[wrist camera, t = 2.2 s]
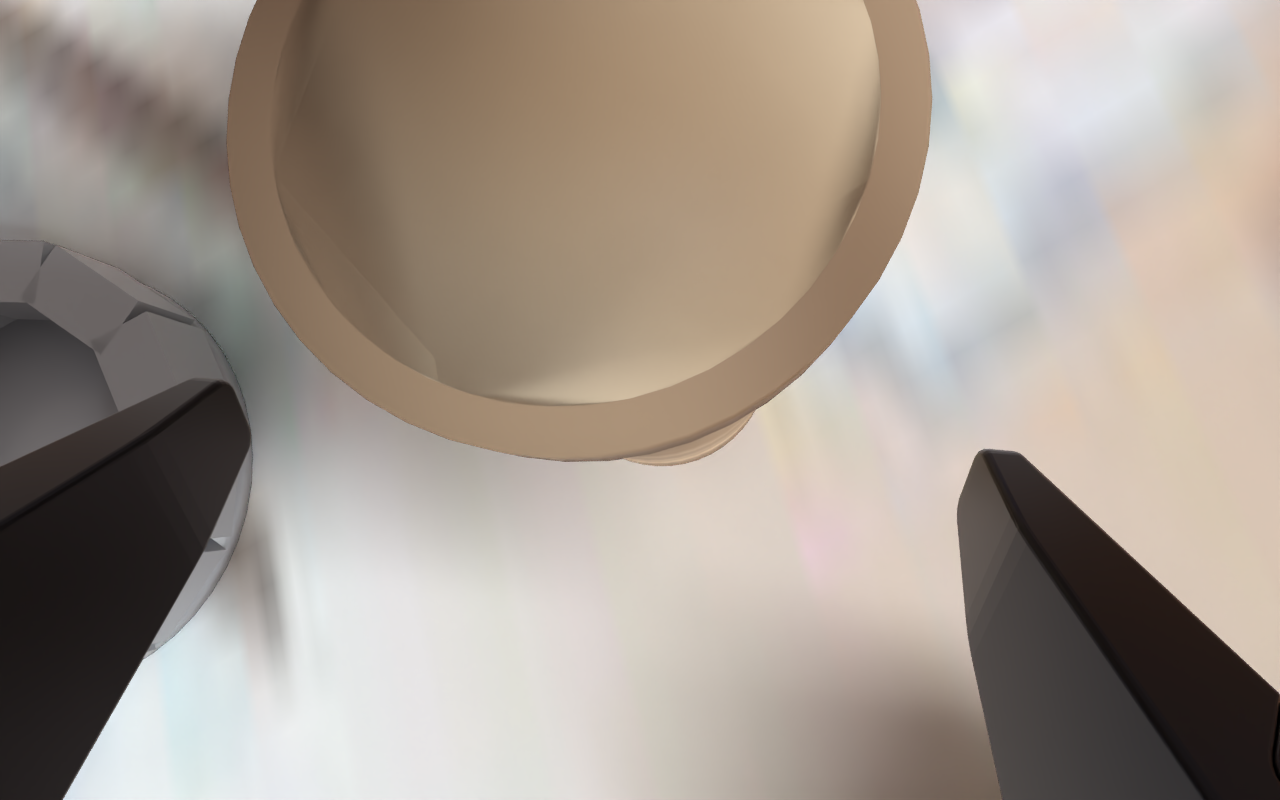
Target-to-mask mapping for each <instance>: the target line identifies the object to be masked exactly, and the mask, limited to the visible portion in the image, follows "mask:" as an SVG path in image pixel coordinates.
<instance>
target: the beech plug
mask: <svg viewBox="0 0 1280 800" xmlns="http://www.w3.org/2000/svg"><path fill="white" fill-rule="evenodd" d="M931 108H932V91H931V76H930V61H929V52H928V47H927V42H926V38H925V33H924V28H923V24H922V19H921V14H920V10H919V7H918V4H917V2H916V0H257V1H256V3H255V5H254V8H253V10H252V12H251V14H250V16H249V19H248V22H247V25H246V29H245V32H244V35H243V38H242V41H241V45H240V48H239V51H238V54H237V57H236V62H235V68H234V73H233V79H232V84H231V90H230V95H229V103H228V123H227V155H228V167H229V179H230V187H231V192H232V196H233V201H234V206H235V210H236V215H237V219H238V224H239V228H240V230H241V233H242V236H243V239H244V241H245V244H246V247H247V249H248V252H249V255H250V258H251V260H252V263H253V266H254V268H255V270H256V272H257V274H258V275H259V277H260V279H261V281H262V283H263V285H264V287H265V288H266V290H267V292H268V294H269V296H270V298H271V300H272V302H273V303H274V305H275V307H276V308H277V309H278V311H279V312H280V313H281V315H282V316H283V318H284V319H285V320H286V322H287V323H288V324H289V326H290V327H291V328H292V330H293V331H294V333H295V334H296V335H297V337H298V338H299V339H300V341H301V342H302V343H303V344H304V345H305V346H306V347H307V348H308V349H309V350H310V351H311V352H312V353H313V354H314V355H315V356H316V357H317V358H318V359H319V360H320V361H321V362H322V363H323V364H324V365H325V366H326V367H327V368H328V369H329V371H330V372H332V373H333V374H334V375H335V376H337V377H338V378H339V379H341V380H342V381H343V382H344V383H346V384H347V385H348V386H350V387H351V388H352V389H354V390H355V391H356V392H357V393H359V394H360V395H361V396H363V397H364V398H365V399H366V400H368V401H370V402H372V403H373V404H375V405H377V406H379V407H380V408H382V409H384V410H386V411H387V412H389V413H391V414H393V415H394V416H396V417H398V418H400V419H401V420H403V421H405V422H407V423H409V424H412V425H414V426H417V427H419V428H422V429H424V430H427V431H429V432H432V433H434V434H437V435H439V436H442V437H444V438H447V439H449V440H453V441H457V442H461V443H465V444H469V445H473V446H477V447H481V448H485V449H489V450H493V451H497V452H502V453H507V454H512V455H517V456H522V457H528V458H537V459H546V460H555V461H564V462H576V461H610V460H616V459H626V460H628V461H631V462H635V463H639V464H643V465H652V466H673V465H679V464H685V463H689V462H692V461H696V460H699V459H701V458H703V457H706V456H708V455H710V454H712V453H714V452H715V451H717V450H719V449H720V448H722V447H723V446H725V445H726V444H727V443H728V442H729V441H731V440H732V439H733V438H734V437H735V436H736V435H737V434H738V433H739V432H740V431H741V430H742V429H743V428H744V426H745V425H746V424H747V422H748V421H749V419H750V418H751V417H752V415H753V413H754V411H755V410H756V409H758V408H759V407H761V406H763V405H764V404H766V403H767V402H769V401H770V400H771V399H772V398H774V397H775V396H776V395H777V394H779V393H780V392H781V391H782V390H784V389H785V388H786V387H787V386H789V385H790V384H791V383H792V382H794V381H795V380H796V379H797V378H799V377H800V376H801V375H802V374H803V373H804V372H805V371H806V370H807V369H808V368H809V367H810V366H811V365H812V363H813V362H814V361H815V360H816V359H817V358H818V357H819V356H820V355H821V354H822V353H823V352H824V351H825V350H826V349H827V348H828V347H829V346H830V345H831V343H832V342H833V341H834V340H835V338H836V337H837V336H838V334H839V333H840V332H841V331H842V329H843V328H844V327H845V326H846V324H847V323H848V322H849V321H850V319H851V318H852V316H853V315H854V314H855V312H856V311H857V310H858V308H859V307H860V305H861V304H862V303H863V301H864V300H865V299H866V297H867V296H868V294H869V293H870V292H871V290H872V289H873V288H874V286H875V285H876V283H877V282H878V281H879V279H880V277H881V275H882V273H883V271H884V270H885V268H886V266H887V264H888V262H889V260H890V258H891V257H892V255H893V253H894V251H895V249H896V247H897V245H898V244H899V242H900V240H901V238H902V235H903V233H904V230H905V227H906V225H907V222H908V219H909V217H910V214H911V211H912V209H913V206H914V203H915V200H916V198H917V195H918V192H919V188H920V183H921V179H922V174H923V170H924V165H925V160H926V156H927V151H928V147H929V134H930V121H931Z"/></svg>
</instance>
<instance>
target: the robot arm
mask: <svg viewBox="0 0 1280 800" xmlns="http://www.w3.org/2000/svg"><path fill="white" fill-rule="evenodd" d="M250 444H251V430H250V427H249V424H248V422H247V419H246V417H245V414H244V412H243V409H242V407H241V405H240V402H239V400H238V397H237V395H236V392H235V390H234V388H233V386H232V385H231V384H230V383H228V382H227V381H225V380H222V379H211V378H191V379H188V380H186V381H184V382H182V383H180V384H177V385H175V386H173V387H171V388H169V389H167V390H164V391H162V392H160V393H158V394H156V395H154V396H151V397H149V398H147V399H145V400H143V401H141V402H139V403H136V404H134V405H132V406H130V407H128V408H126V409H123V410H121V411H119V412H117V413H115V414H113V415H110V416H108V417H106V418H104V419H102V420H100V421H97V422H95V423H93V424H91V425H89V426H87V427H84V428H82V429H80V430H78V431H76V432H74V433H72V434H69V435H67V436H65V437H63V438H61V439H59V440H56V441H54V442H52V443H50V444H48V445H46V446H43V447H41V448H39V449H37V450H35V451H33V452H30V453H28V454H26V455H24V456H22V457H20V458H17V459H15V460H13V461H11V462H9V463H7V464H5V465H2V466H0V800H63V798H64V797H65V795H66V793H67V791H68V790H69V788H70V786H71V784H72V783H73V781H74V779H75V777H76V776H77V774H78V772H79V770H80V769H81V767H82V765H83V763H84V762H85V760H86V758H87V756H88V755H89V753H90V751H91V749H92V748H93V746H94V744H95V742H96V741H97V739H98V737H99V735H100V734H101V732H102V730H103V728H104V727H105V725H106V723H107V721H108V720H109V718H110V716H111V714H112V713H113V711H114V709H115V707H116V706H117V704H118V702H119V700H120V699H121V697H122V695H123V693H124V692H125V690H126V688H127V686H128V685H129V683H130V681H131V679H132V678H133V676H134V674H135V672H136V671H137V669H138V667H139V665H140V664H141V662H142V660H143V658H144V657H145V655H146V653H147V651H148V650H149V648H150V646H151V644H152V643H153V641H154V639H155V637H156V636H157V634H158V632H159V630H160V629H161V627H162V625H163V623H164V622H165V620H166V618H167V616H168V615H169V613H170V611H171V609H172V608H173V606H174V604H175V602H176V601H177V599H178V597H179V595H180V594H181V592H182V590H183V588H184V587H185V585H186V583H187V581H188V580H189V578H190V576H191V574H192V573H193V571H194V569H195V567H196V565H197V563H198V562H199V560H200V558H201V556H202V554H203V552H204V550H205V548H206V546H207V544H208V542H209V540H210V538H211V536H212V533H213V531H214V529H215V527H216V524H217V522H218V520H219V517H220V515H221V513H222V511H223V508H224V506H225V504H226V501H227V499H228V497H229V494H230V492H231V490H232V488H233V485H234V483H235V481H236V478H237V476H238V474H239V472H240V469H241V467H242V465H243V462H244V460H245V458H246V456H247V453H248V451H249V448H250ZM957 525H958V536H959V547H960V558H961V570H962V581H963V592H964V603H965V615H966V624H967V633H968V640H969V646H970V651H971V657H972V661H973V666H974V671H975V675H976V680H977V685H978V689H979V694H980V698H981V703H982V708H983V712H984V717H985V722H986V726H987V731H988V735H989V740H990V745H991V749H992V754H993V758H994V763H995V768H996V772H997V777H998V782H999V786H1000V791H1001V795H1002V800H1280V694H1279V693H1278V692H1277V691H1276V690H1275V689H1274V688H1273V687H1272V686H1271V685H1270V684H1269V683H1268V682H1266V681H1265V680H1264V679H1263V678H1262V677H1261V676H1260V675H1259V674H1258V673H1257V672H1256V671H1255V670H1253V669H1252V668H1251V667H1250V666H1249V665H1248V664H1247V663H1246V662H1245V661H1244V660H1243V659H1242V658H1241V657H1239V656H1238V655H1237V654H1236V653H1235V652H1234V651H1233V650H1232V649H1231V648H1230V647H1229V646H1228V645H1227V644H1225V643H1224V642H1223V641H1222V640H1221V639H1220V638H1219V637H1218V636H1217V635H1216V634H1215V633H1214V632H1213V631H1211V630H1210V629H1209V628H1208V627H1207V626H1206V625H1205V624H1204V623H1203V622H1202V621H1201V620H1200V619H1199V618H1197V617H1196V616H1195V615H1194V614H1193V613H1192V612H1191V611H1190V610H1189V609H1188V608H1187V607H1186V606H1185V605H1183V604H1182V603H1181V602H1180V601H1179V600H1178V599H1177V598H1176V597H1175V596H1174V595H1173V594H1172V593H1170V592H1169V591H1168V590H1167V589H1166V588H1165V587H1164V586H1163V585H1162V584H1161V583H1160V582H1159V581H1158V580H1156V579H1155V578H1154V577H1153V576H1152V575H1151V574H1150V573H1149V572H1148V571H1147V570H1146V569H1145V568H1144V567H1142V566H1141V565H1140V564H1139V563H1138V562H1137V561H1136V560H1135V559H1134V558H1133V557H1132V556H1131V555H1130V554H1128V553H1127V552H1126V551H1125V550H1124V549H1123V548H1122V547H1121V546H1120V545H1119V544H1118V543H1117V542H1116V541H1114V540H1113V539H1112V538H1111V537H1110V536H1109V535H1108V534H1107V533H1106V532H1105V531H1104V530H1103V529H1102V528H1100V527H1099V526H1098V525H1097V524H1096V523H1095V522H1094V521H1093V520H1092V519H1091V518H1090V517H1089V516H1087V515H1086V514H1085V513H1084V512H1083V511H1082V510H1081V509H1080V508H1079V507H1078V506H1077V505H1076V504H1075V503H1073V502H1072V501H1071V500H1070V499H1069V498H1068V497H1067V496H1066V495H1065V494H1064V493H1063V492H1062V491H1061V490H1059V489H1058V488H1057V487H1056V486H1055V485H1054V484H1053V483H1052V482H1051V481H1050V480H1049V479H1048V478H1047V477H1045V476H1044V475H1043V474H1042V473H1041V472H1040V471H1039V470H1038V469H1037V468H1036V467H1035V466H1034V465H1033V464H1031V463H1030V462H1029V461H1028V460H1027V459H1026V458H1025V457H1024V456H1023V455H1021V454H1020V453H1018V452H1014V451H1005V450H994V449H983V450H981V451H979V452H978V454H977V455H976V456H975V458H974V461H973V463H972V466H971V469H970V471H969V474H968V477H967V479H966V482H965V485H964V487H963V490H962V493H961V495H960V498H959V502H958V508H957Z"/></svg>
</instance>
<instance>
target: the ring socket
mask: <svg viewBox="0 0 1280 800" xmlns="http://www.w3.org/2000/svg"><path fill="white" fill-rule="evenodd" d="M191 378H211V379H222V380H225V381H227V382H228V383H230V384H231V385H232V386H233V388H234V390H235V392H236V395H237V397H238V400H239V402H240V405H241V407H242V409H243V412H244V414H245V417H246V419H247V422H248V424H249V419H248V415H247V410H246V405H245V401H244V398H243V396H242V393H241V390H240V387H239V384H238V382H237V379H236V376H235V374H234V372H233V370H232V369H231V367H230V365H229V363H228V361H227V359H226V357H225V355H224V353H223V352H222V350H221V349H220V348H219V346H218V345H217V343H216V342H215V341H214V339H213V338H212V336H211V335H210V334H209V332H208V331H207V330H206V329H205V328H204V327H203V326H202V325H201V324H200V323H199V322H198V321H197V320H196V319H195V318H194V317H193V316H192V315H191V314H190V313H189V312H187V311H186V310H185V309H184V308H182V307H181V306H180V305H179V304H177V303H176V302H175V301H174V300H172V299H170V298H169V297H167V296H165V295H163V294H162V293H160V292H158V291H156V290H155V289H153V288H151V287H149V286H146V285H143V284H141V283H140V282H138V281H137V280H135V279H134V278H132V277H131V276H129V275H128V274H126V273H125V272H124V271H122V270H121V269H119V268H116V267H113V266H111V265H108V264H106V263H103V262H100V261H98V260H95V259H92V258H90V257H87V256H85V255H82V254H79V253H77V252H74V251H71V250H69V249H66V248H64V247H61V246H58V245H53V244H51V243H48V242H45V241H20V240H0V466H2V465H5V464H7V463H9V462H11V461H13V460H15V459H17V458H20V457H22V456H24V455H26V454H28V453H30V452H33V451H35V450H37V449H39V448H41V447H43V446H46V445H48V444H50V443H52V442H54V441H56V440H59V439H61V438H63V437H65V436H67V435H69V434H72V433H74V432H76V431H78V430H80V429H82V428H84V427H87V426H89V425H91V424H93V423H95V422H97V421H100V420H102V419H104V418H106V417H108V416H110V415H113V414H115V413H117V412H119V411H121V410H123V409H126V408H128V407H130V406H132V405H134V404H136V403H139V402H141V401H143V400H145V399H147V398H149V397H151V396H154V395H156V394H158V393H160V392H162V391H164V390H167V389H169V388H171V387H173V386H175V385H177V384H180V383H182V382H184V381H186V380H188V379H191ZM249 427H250V424H249ZM250 430H251V429H250ZM252 460H253V454H252V441H251V444H250V448H249V451H248V453H247V456H246V458H245V460H244V462H243V465H242V467H241V469H240V472H239V474H238V476H237V478H236V481H235V483H234V485H233V488H232V490H231V492H230V494H229V497H228V499H227V501H226V504H225V506H224V508H223V511H222V513H221V515H220V517H219V520H218V522H217V524H216V527H215V529H214V531H213V533H212V536H211V538H210V540H209V542H208V544H207V546H206V548H205V550H204V552H203V554H202V556H201V558H200V560H199V562H198V563H197V565H196V567H195V569H194V571H193V573H192V574H191V576H190V578H189V580H188V581H187V583H186V585H185V587H184V588H183V590H182V592H181V594H180V595H179V597H178V599H177V601H176V602H175V604H174V606H173V608H172V609H171V611H170V613H169V615H168V616H167V618H166V620H165V622H164V623H163V625H162V627H161V629H160V630H159V632H158V634H157V636H156V637H155V639H154V641H153V643H152V644H151V646H150V648H149V650H148V651H147V653H146V655H145V657H144V658H146V657H148V656H149V655H151V654H153V653H154V652H155V651H156V650H158V649H159V648H160V647H161V646H163V645H164V644H165V643H166V642H168V641H169V640H170V639H171V638H173V637H174V636H175V635H176V634H177V633H178V632H179V631H180V630H181V629H182V628H183V627H184V626H185V625H186V624H187V623H188V622H189V621H190V619H191V618H192V617H193V616H194V615H195V614H196V613H197V611H198V610H199V609H200V608H201V606H202V605H203V604H204V602H205V601H206V600H207V598H208V597H209V596H210V594H211V593H212V592H213V590H214V588H215V586H216V585H217V583H218V581H219V580H220V578H221V576H222V574H223V573H224V571H225V569H226V568H227V566H228V563H229V561H230V559H231V556H232V554H233V552H234V549H235V547H236V545H237V542H238V540H239V537H240V533H241V530H242V527H243V523H244V520H245V516H246V513H247V508H248V502H249V496H250V490H251V483H252ZM144 658H143V659H144Z"/></svg>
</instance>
